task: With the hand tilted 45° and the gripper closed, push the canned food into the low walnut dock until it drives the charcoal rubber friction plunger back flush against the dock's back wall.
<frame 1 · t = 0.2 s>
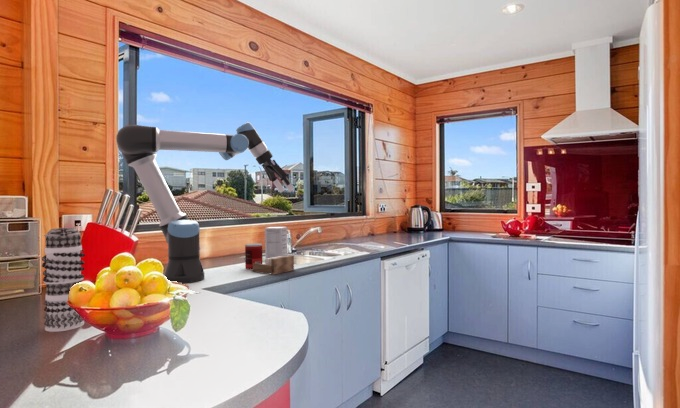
hand: (287, 191, 194), 36 cm above the countertop, tool tilted 35°, fingers open, 13 cm apart
white canister: (276, 259, 215), on the countertop
decorative candle: (65, 327, 104), on the countertop
dock: (272, 270, 181), on the countertop
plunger: (274, 263, 180), point 3 cm above the countertop, slide at 0.0 cm
canned food: (254, 268, 188), on the countertop
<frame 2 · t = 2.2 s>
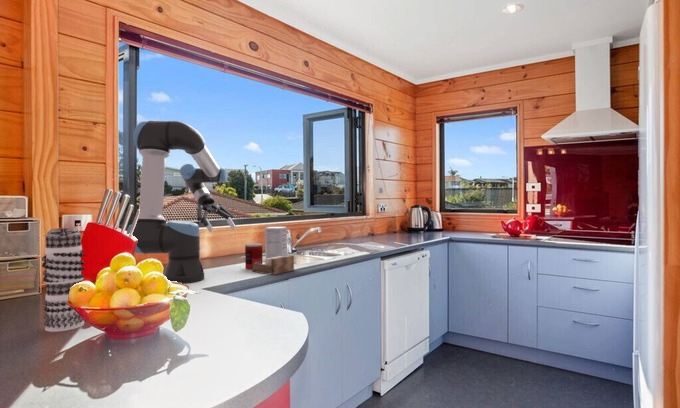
hand: (223, 229, 200), 17 cm above the countertop, tool tilted 45°, fingers open, 13 cm apart
nothing on the countertop moved.
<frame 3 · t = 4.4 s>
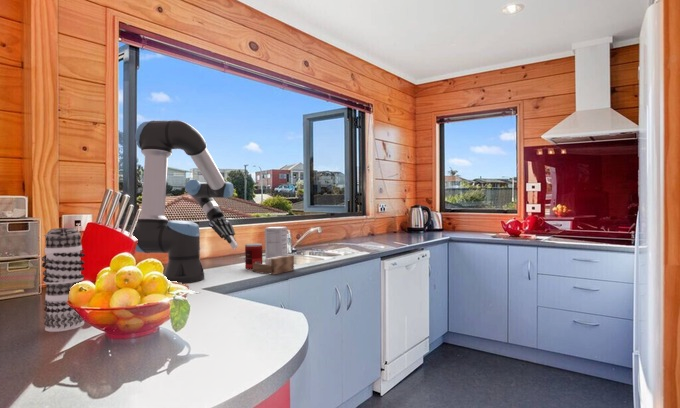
hand: (235, 247, 197), 8 cm above the countertop, tool tilted 45°, fingers closed
nothing on the countertop moved.
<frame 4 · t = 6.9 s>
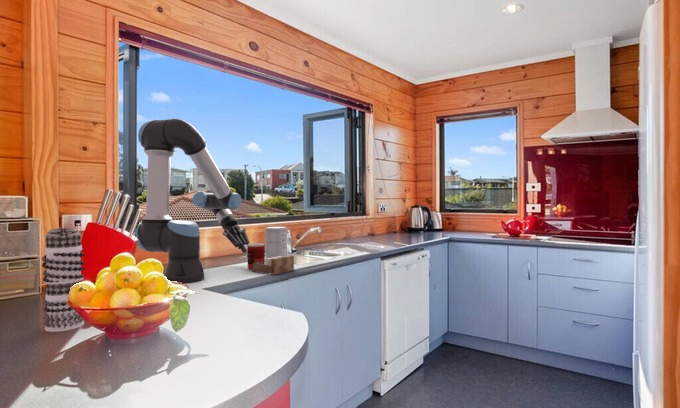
hand: (250, 257, 191), 5 cm above the countertop, tool tilted 45°, fingers closed
canned food: (256, 268, 187), on the countertop, touching gripper
everything else where it was.
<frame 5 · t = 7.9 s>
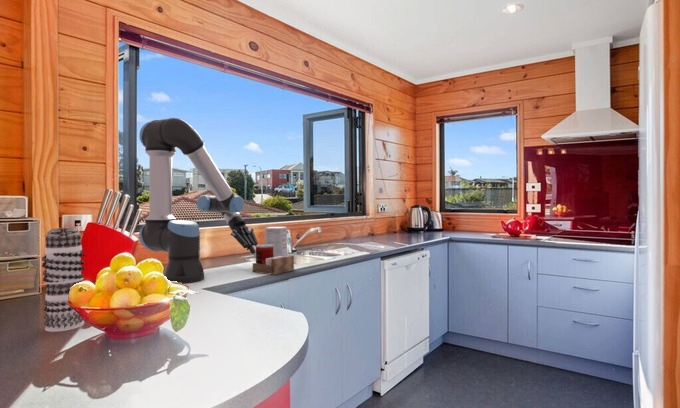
hand: (259, 257, 187), 5 cm above the countertop, tool tilted 45°, fingers closed
canned food: (264, 270, 183), on the countertop, touching gripper
everything else where it was.
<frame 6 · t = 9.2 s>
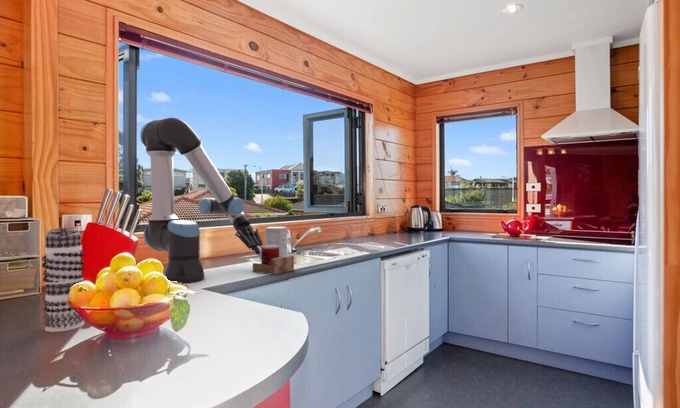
hand: (264, 258, 184), 5 cm above the countertop, tool tilted 45°, fingers closed
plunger: (279, 264, 178), point 3 cm above the countertop, slide at 3.5 cm, touching canned food, dock
canned food: (270, 271, 180), on the countertop, touching gripper, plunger
everything else where it was.
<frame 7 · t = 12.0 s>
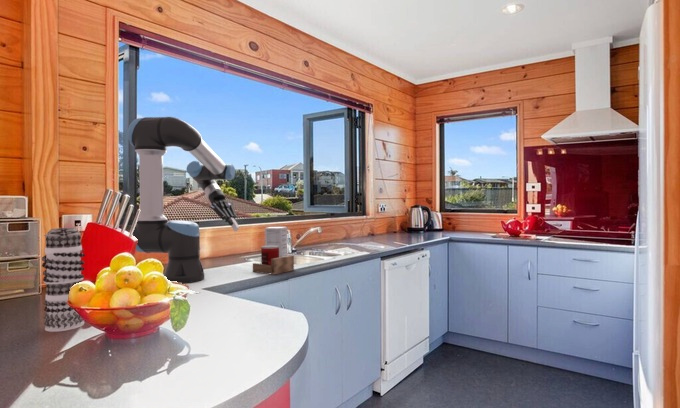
hand: (236, 229, 194), 17 cm above the countertop, tool tilted 45°, fingers closed
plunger: (279, 264, 178), point 3 cm above the countertop, slide at 3.5 cm, touching dock
canned food: (270, 271, 180), on the countertop
everything else where it was.
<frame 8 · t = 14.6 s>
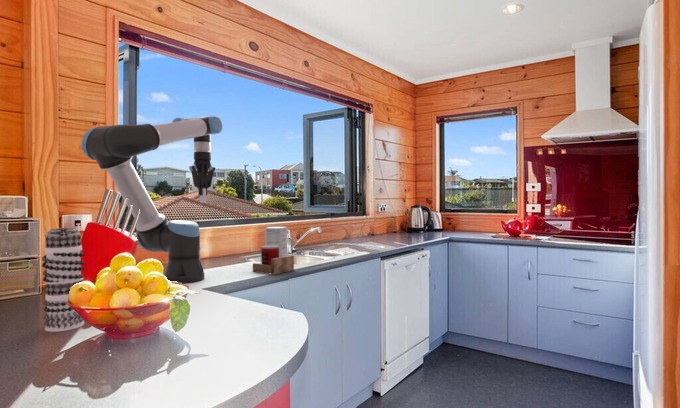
hand: (202, 202, 190), 30 cm above the countertop, tool pointing down, fingers closed
nothing on the countertop moved.
at the end: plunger slide at 3.5 cm; canned food 0.9 cm from the target spot, on the countertop; canned food tilted 0° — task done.
